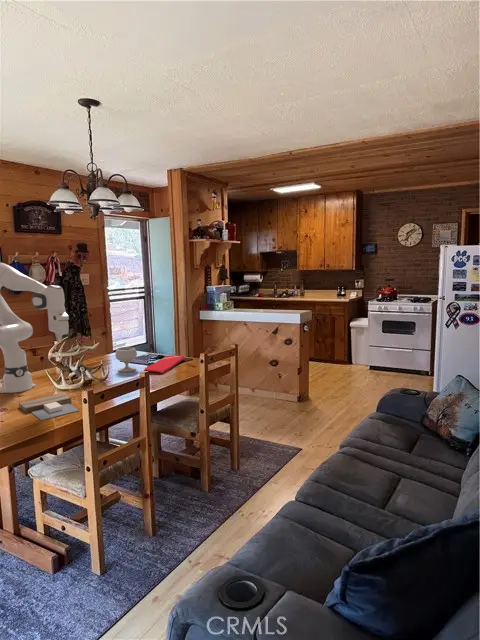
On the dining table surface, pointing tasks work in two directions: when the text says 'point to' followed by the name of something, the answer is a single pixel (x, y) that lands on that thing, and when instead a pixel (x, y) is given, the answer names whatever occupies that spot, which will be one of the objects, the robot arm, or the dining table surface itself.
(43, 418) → the mat
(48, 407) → the tile
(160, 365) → the dish drying mat
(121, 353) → the chalice
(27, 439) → the dining table surface
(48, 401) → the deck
